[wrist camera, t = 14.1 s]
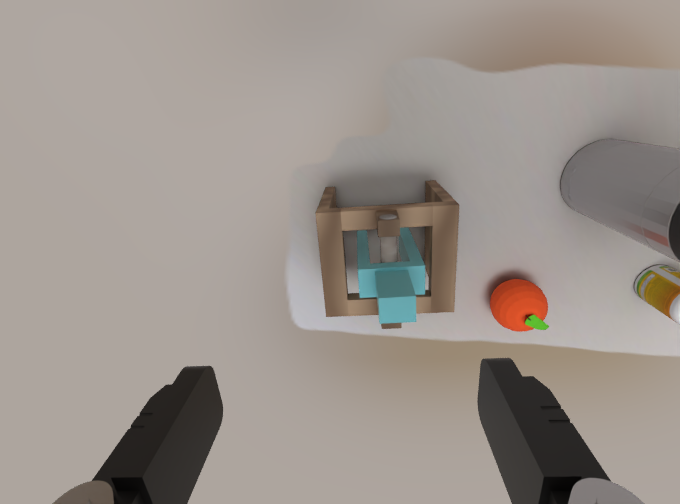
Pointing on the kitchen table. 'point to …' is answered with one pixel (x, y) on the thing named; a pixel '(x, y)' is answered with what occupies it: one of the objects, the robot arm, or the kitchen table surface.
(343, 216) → the wooden rod stand
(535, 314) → the clementine
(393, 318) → the teal tuning fork
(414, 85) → the kitchen table surface
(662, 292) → the supplement bottle
